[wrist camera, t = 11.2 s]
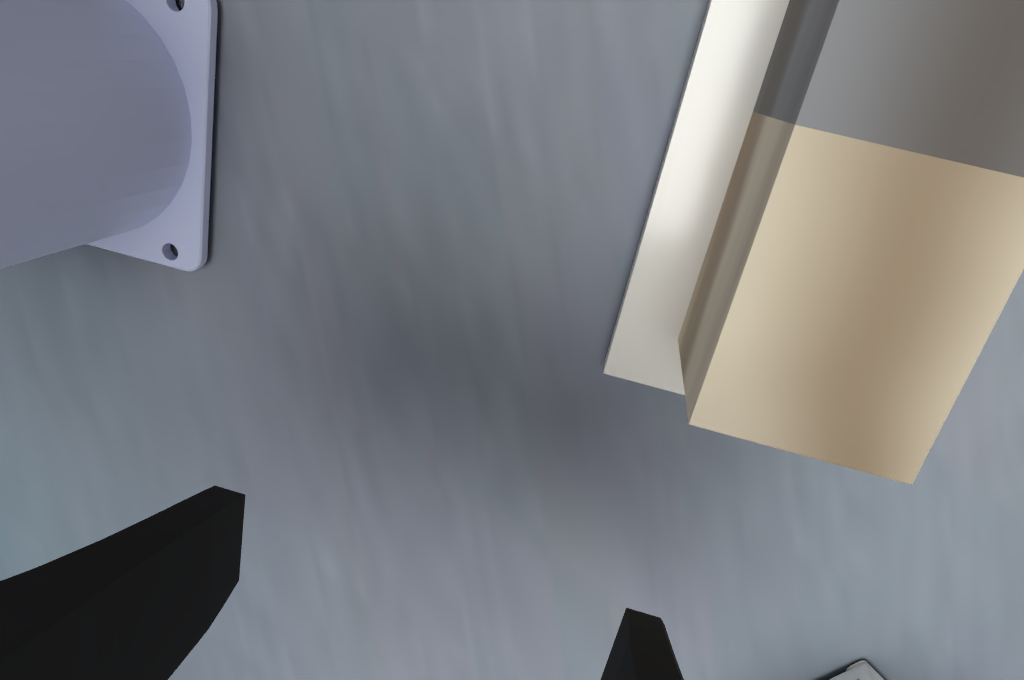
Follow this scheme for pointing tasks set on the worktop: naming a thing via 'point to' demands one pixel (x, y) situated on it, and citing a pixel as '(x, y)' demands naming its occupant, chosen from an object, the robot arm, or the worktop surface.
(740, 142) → the tile
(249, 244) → the worktop surface
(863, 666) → the syrup box
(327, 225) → the worktop surface
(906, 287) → the capped bar
